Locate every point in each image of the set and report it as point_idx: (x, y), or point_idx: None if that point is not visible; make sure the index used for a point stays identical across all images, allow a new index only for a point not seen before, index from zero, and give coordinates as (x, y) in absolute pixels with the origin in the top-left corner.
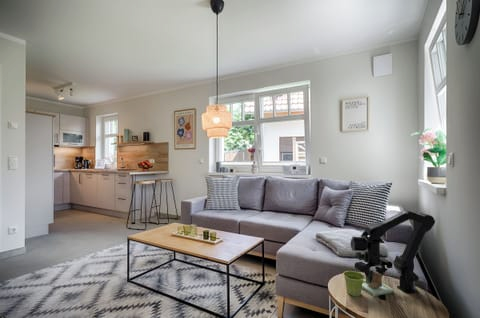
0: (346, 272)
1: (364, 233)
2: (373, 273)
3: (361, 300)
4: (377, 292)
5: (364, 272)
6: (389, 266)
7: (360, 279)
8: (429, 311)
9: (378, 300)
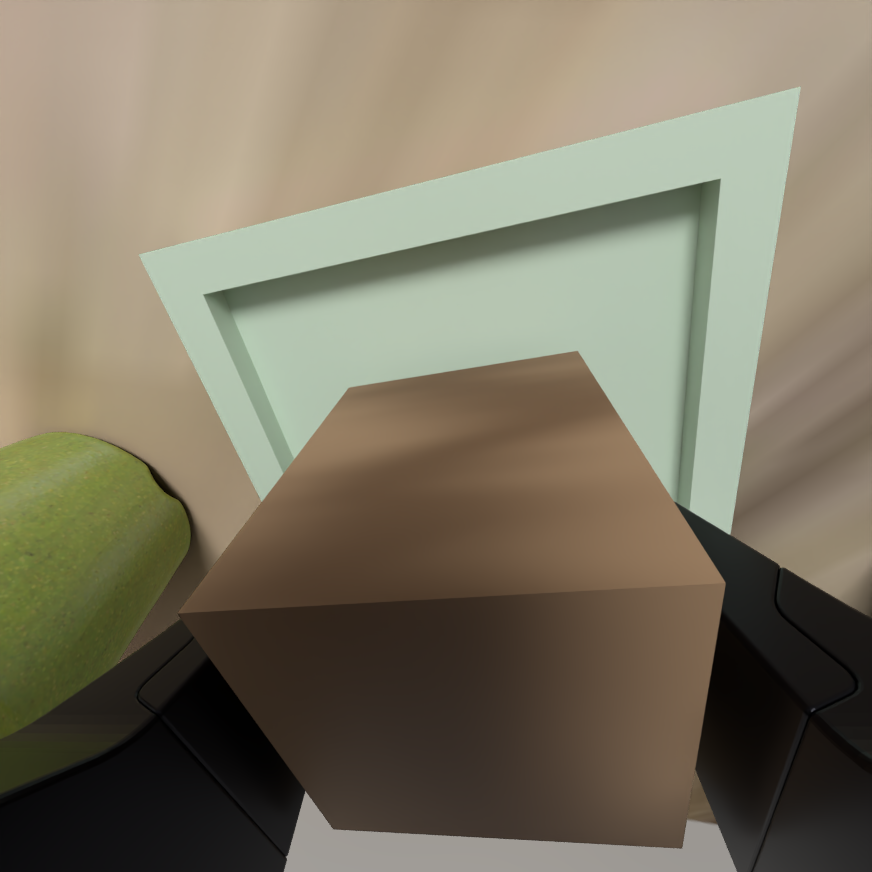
0: None
1: None
2: (424, 769)
3: (167, 624)
4: None
5: (68, 717)
6: None
7: (26, 692)
8: (695, 807)
9: None
